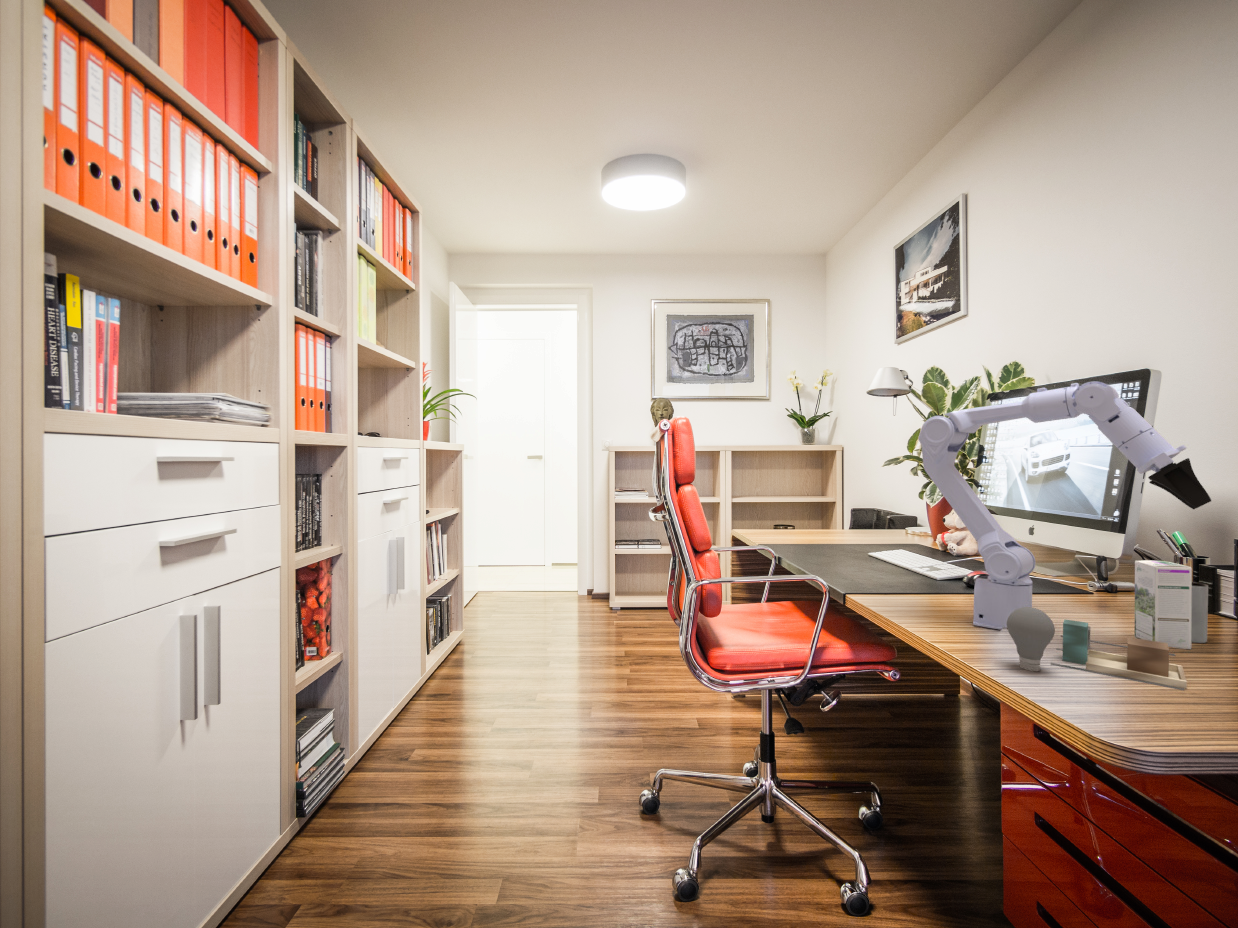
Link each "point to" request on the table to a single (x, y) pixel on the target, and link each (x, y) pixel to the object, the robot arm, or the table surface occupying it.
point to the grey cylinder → (1199, 612)
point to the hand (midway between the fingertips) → (1202, 505)
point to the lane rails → (1116, 675)
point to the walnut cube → (1148, 656)
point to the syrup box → (1163, 602)
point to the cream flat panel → (1088, 637)
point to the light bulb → (1030, 635)
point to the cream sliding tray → (1109, 658)
